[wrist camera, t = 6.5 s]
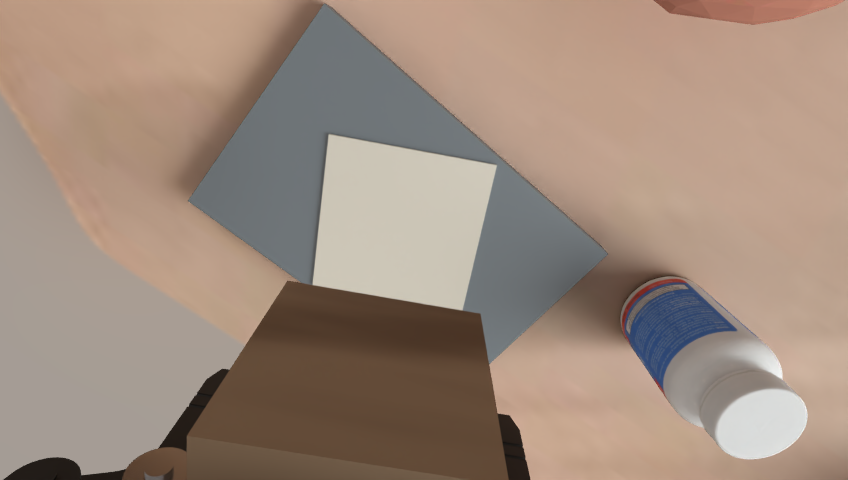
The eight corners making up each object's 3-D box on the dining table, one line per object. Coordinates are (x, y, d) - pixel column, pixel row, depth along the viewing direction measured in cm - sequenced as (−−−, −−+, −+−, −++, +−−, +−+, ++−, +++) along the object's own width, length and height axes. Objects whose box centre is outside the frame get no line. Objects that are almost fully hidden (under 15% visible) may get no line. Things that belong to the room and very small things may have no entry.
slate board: (197, 194, 28) (186, 201, 27) (329, 5, 25) (323, 3, 23) (455, 382, 33) (456, 396, 31) (601, 246, 29) (609, 255, 28)
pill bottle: (603, 335, 31) (672, 453, 22) (643, 262, 29) (737, 358, 20) (680, 360, 32) (778, 484, 22) (724, 289, 30) (851, 394, 21)
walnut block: (287, 280, 14) (186, 435, 8) (480, 313, 14) (509, 486, 8) (274, 433, 16) (186, 641, 10) (443, 460, 16) (447, 677, 10)
